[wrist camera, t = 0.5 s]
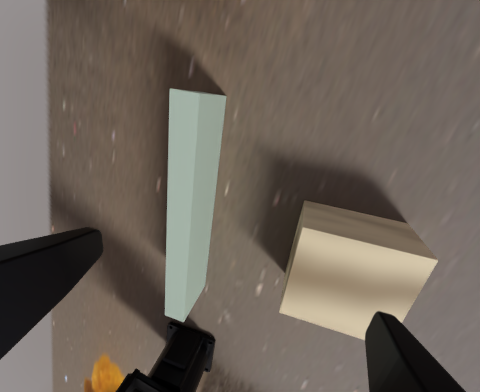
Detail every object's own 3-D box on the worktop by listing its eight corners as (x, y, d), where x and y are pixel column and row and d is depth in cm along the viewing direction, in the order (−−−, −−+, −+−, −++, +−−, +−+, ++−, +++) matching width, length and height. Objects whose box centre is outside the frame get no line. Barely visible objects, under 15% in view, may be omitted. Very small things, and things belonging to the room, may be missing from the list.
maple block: (370, 296, 21) (387, 347, 17) (285, 271, 23) (279, 312, 19) (406, 221, 18) (438, 260, 14) (304, 199, 20) (302, 227, 15)
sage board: (205, 285, 26) (183, 322, 22) (189, 280, 27) (164, 315, 22) (226, 95, 18) (199, 93, 14) (203, 92, 19) (169, 88, 14)
